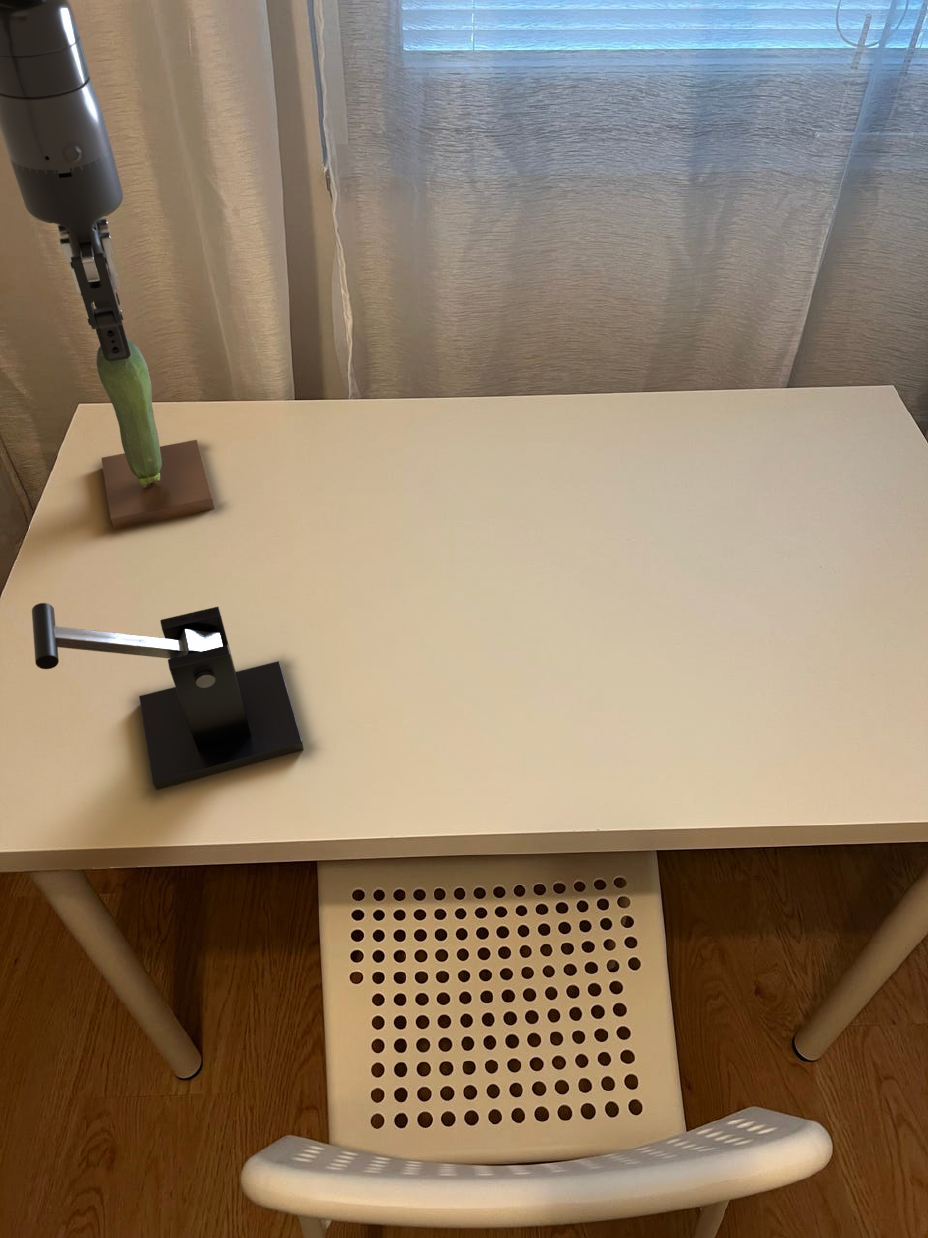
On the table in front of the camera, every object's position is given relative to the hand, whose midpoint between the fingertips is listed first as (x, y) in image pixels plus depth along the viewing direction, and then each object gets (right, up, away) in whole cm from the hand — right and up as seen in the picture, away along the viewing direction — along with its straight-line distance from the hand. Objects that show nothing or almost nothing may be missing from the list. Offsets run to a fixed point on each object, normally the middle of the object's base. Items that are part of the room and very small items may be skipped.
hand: (113, 331), depth 84 cm
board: (0, -12, +14) cm, 18 cm away
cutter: (+11, -35, -5) cm, 37 cm away
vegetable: (0, -11, +13) cm, 17 cm away
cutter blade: (+7, -28, -15) cm, 33 cm away
